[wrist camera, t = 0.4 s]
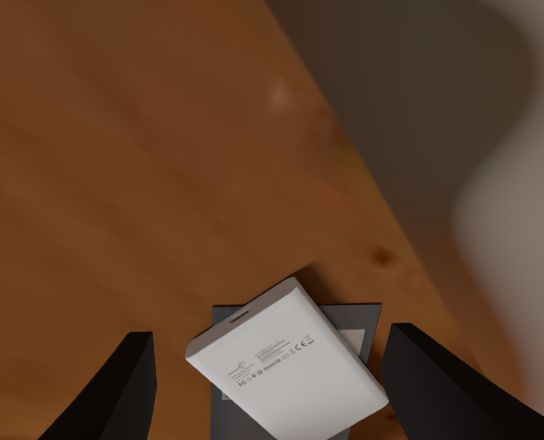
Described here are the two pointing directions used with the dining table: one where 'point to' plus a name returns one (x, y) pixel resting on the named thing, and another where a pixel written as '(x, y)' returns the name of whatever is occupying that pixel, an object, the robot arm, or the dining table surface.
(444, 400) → the robot arm
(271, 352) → the external hard drive
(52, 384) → the dining table surface
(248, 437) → the bay plate
